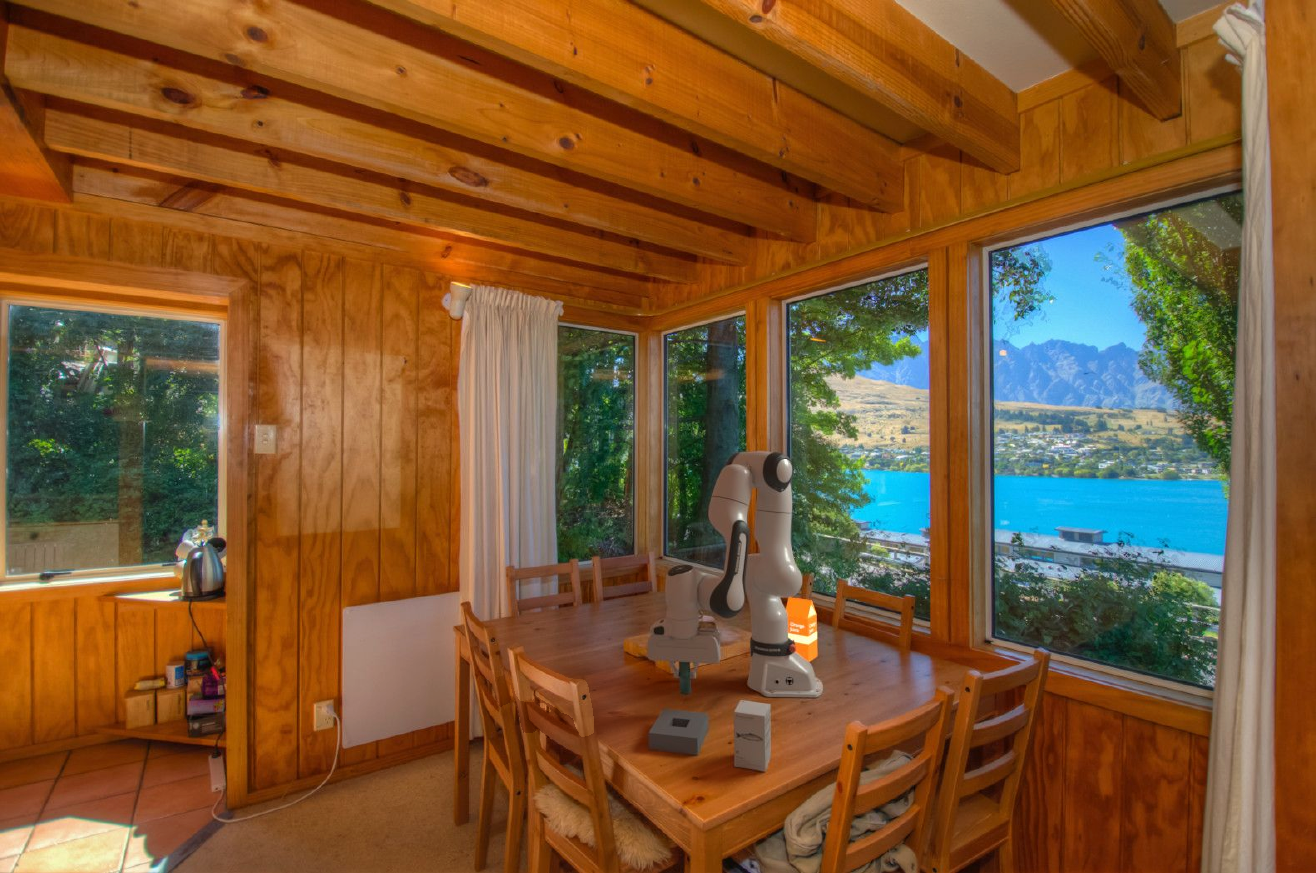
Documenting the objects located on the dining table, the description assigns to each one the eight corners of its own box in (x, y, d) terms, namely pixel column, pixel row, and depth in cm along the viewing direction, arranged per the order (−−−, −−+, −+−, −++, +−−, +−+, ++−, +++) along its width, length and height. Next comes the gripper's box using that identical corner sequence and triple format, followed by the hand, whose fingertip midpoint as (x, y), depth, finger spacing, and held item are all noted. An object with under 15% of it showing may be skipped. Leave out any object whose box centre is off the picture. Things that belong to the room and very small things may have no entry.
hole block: (708, 728, 157) (708, 713, 157) (697, 755, 143) (697, 738, 143) (663, 723, 160) (663, 708, 160) (648, 749, 146) (648, 732, 147)
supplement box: (733, 767, 138) (732, 711, 138) (740, 752, 145) (740, 698, 145) (765, 773, 135) (764, 715, 135) (772, 757, 142) (771, 702, 142)
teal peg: (692, 690, 166) (690, 653, 166) (689, 695, 163) (688, 657, 163) (681, 689, 167) (680, 653, 167) (678, 694, 164) (677, 657, 164)
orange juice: (808, 662, 204) (807, 602, 205) (784, 657, 210) (783, 599, 210) (817, 655, 210) (816, 597, 211) (794, 651, 216) (793, 594, 216)
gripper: (722, 624, 166) (724, 675, 166) (650, 621, 171) (652, 670, 171) (718, 631, 160) (720, 684, 159) (644, 628, 165) (646, 679, 165)
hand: (684, 677), depth 165 cm, fingers closed on teal peg, 3 cm apart
